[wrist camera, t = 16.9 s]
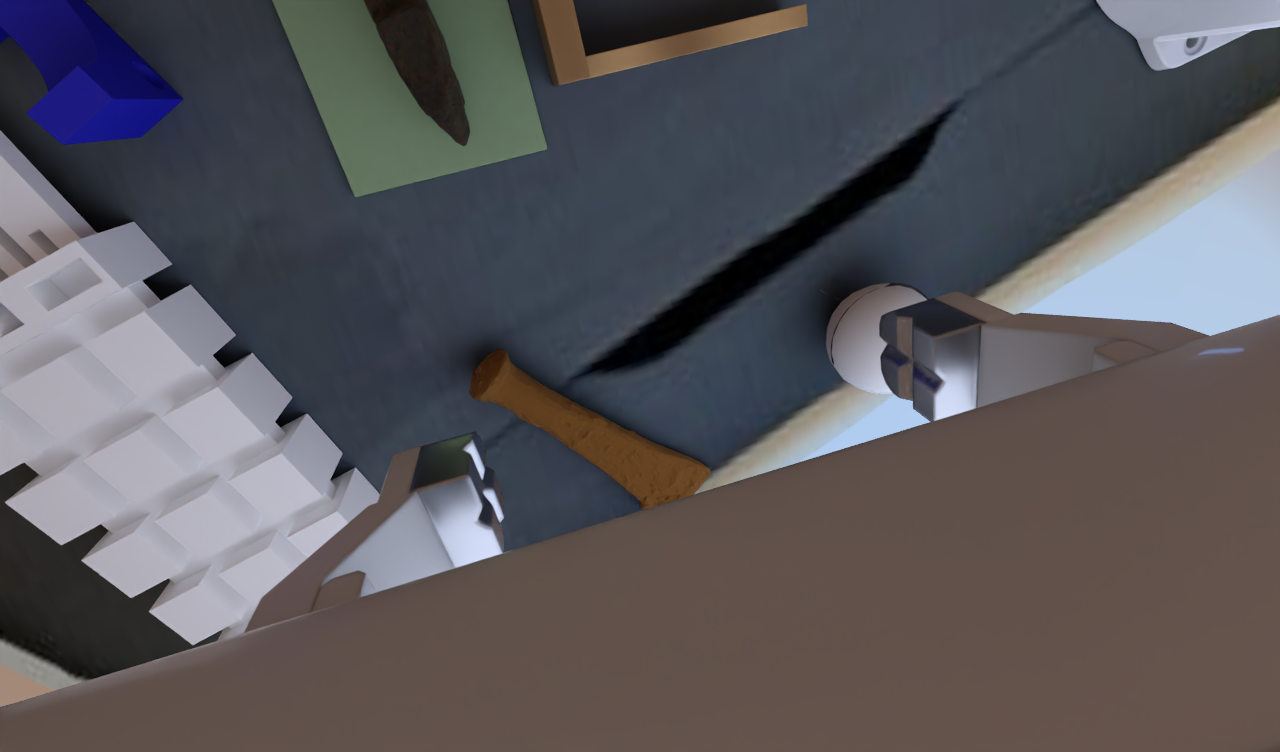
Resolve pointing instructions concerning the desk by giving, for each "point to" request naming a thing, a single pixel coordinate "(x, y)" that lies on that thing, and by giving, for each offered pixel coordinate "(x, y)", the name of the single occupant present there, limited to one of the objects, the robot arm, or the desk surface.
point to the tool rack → (572, 64)
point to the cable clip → (85, 73)
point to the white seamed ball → (865, 332)
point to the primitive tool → (590, 434)
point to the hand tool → (422, 61)
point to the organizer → (150, 421)
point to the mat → (383, 105)
